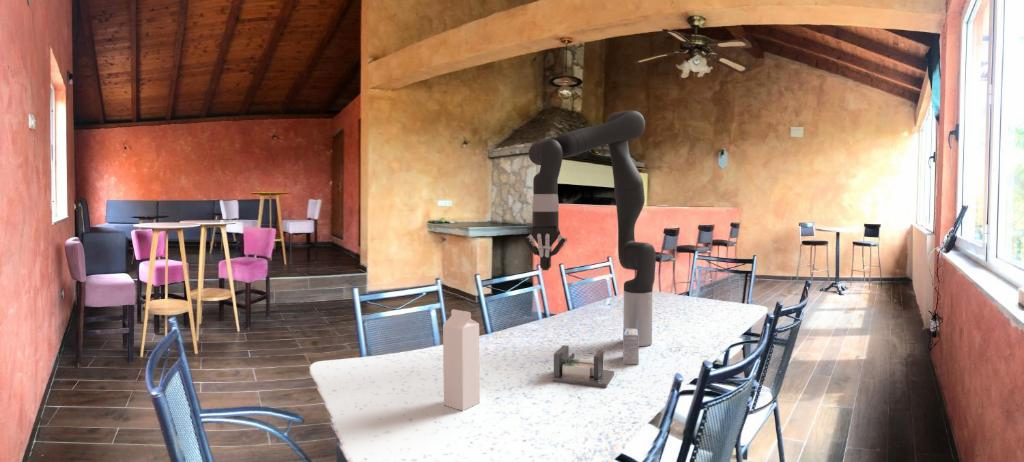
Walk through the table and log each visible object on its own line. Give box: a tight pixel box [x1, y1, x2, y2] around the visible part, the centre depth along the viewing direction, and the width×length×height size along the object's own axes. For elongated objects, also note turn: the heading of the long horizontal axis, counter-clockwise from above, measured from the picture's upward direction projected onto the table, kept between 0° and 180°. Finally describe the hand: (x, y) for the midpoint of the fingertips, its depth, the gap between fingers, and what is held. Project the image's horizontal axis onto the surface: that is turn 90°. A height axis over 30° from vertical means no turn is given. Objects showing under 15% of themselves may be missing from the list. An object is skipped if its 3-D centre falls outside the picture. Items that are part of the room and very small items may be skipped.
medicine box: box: [622, 328, 640, 365], centre depth 158 cm, size 8×4×9 cm, turn 168°
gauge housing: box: [552, 344, 615, 389], centre depth 142 cm, size 11×14×7 cm
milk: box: [442, 309, 481, 412], centre depth 124 cm, size 6×6×22 cm
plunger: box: [566, 350, 604, 379], centre depth 142 cm, size 6×9×6 cm, turn 68°
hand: (545, 269), depth 155 cm, fingers closed
